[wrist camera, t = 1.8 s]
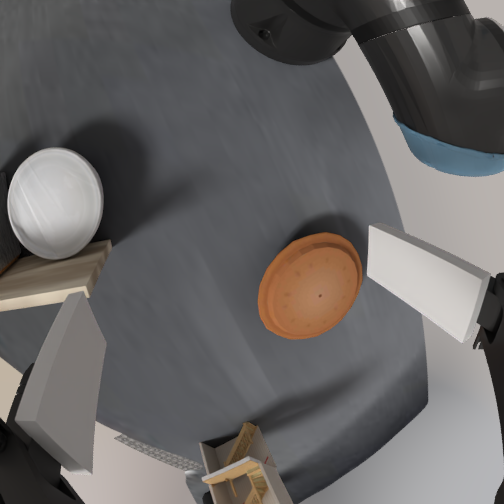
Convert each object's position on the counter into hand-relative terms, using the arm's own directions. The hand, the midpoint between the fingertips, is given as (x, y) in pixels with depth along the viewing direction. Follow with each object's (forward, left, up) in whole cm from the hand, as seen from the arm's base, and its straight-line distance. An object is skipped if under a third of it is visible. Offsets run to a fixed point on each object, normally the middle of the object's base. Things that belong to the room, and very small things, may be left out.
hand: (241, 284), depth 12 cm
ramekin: (-3, -14, -22) cm, 26 cm away
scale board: (+3, -23, -21) cm, 31 cm away
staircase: (+45, -1, -22) cm, 50 cm away
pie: (+13, +14, -22) cm, 28 cm away
